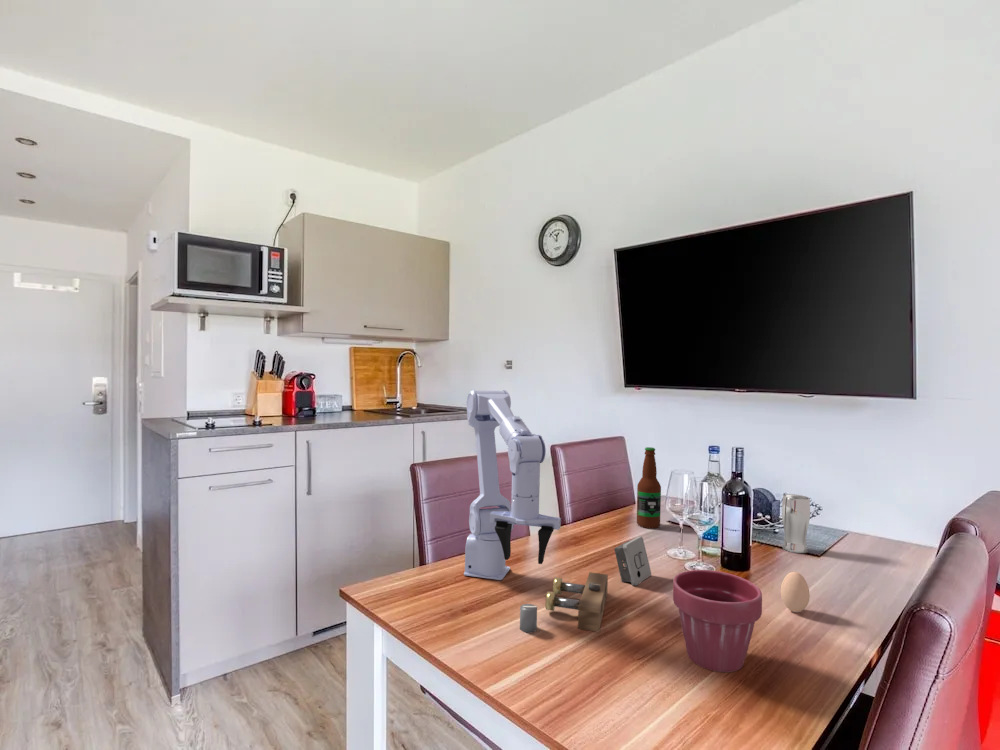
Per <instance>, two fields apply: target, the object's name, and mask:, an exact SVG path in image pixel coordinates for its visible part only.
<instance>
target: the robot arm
mask: <svg viewBox="0 0 1000 750" xmlns="http://www.w3.org/2000/svg"><path fill="white" fill-rule="evenodd" d="M511 402H512V401H511V395H510V393H509V392H508V391H507V390H506V389H503V390H475V389H471V390H470V391H469V393H468V394H467V396H466V404H465V405H466V416H467V421H468V426H470V427H472V428H473V429H474V436H475V445H476V460H477V471H478V483H479V485H478V486H479V495H478V496H477V498H475V499H474V500H473V501H472V502H471V504H470V505H469V517H468V525H469V531H470V532H471V533H469V535H468V536H467V537H466V541H465V542H466V543H465V548H464V549H465V550H464V571H463V575H464V576H469V577H475V578H476V577H477V578H483V579H488V580H497V581H502V580H503V579H504V578H505V576H506V575H507V574H508V572H509V571H510V569H511V567H510V566H508V565H506V561H508V560H509V559H510V558H511V553H512V552H511V551H512V550H511V546H512V545H511V536H512V532H513V529H514V526H515V525H517V526H528V527H538V528H539V530H537V535H538V536H537V538H538V554H537V555H538V556H537V557H538V558H537V564H539V565H543V562H544V559H545V554H546V549H547V547H548V544H549V540H550V539H551V537H552V534H553V533H554V530H557V531H558V530H560V529H561V527H562V526H561V524H562V523H561V521H562V520H561V519H562V518H561V517H555V516H550V515H545V514H540V484H541V483H540V482H541V481H540V480H541V479H540V477H541V464H542V463H544V460H545V459H546V449H547V448H546V444H545V440H544V438H543V437H542V435H541V434H535V433H534V434H533V433H532V432H531V431H530V429H529V427H528V426H527V425H526V423H525V422H524V420H523V419H522V418H521V417H520V416H519V415H518V416H517V415H515V414H514V413H513V411H512V409H511V405H512V403H511ZM497 427H499V428H498V432H499V435H501V438H502V439H503V440H504V442H505V444H506V445H507V446H506V447H507V455H508V460H509V471H510V472H511V501H510V500H509V499H508V498H506V497H505V496H504V495H502V494H501V491H500V490H501V489H500V479H499V469H498V458H497V457H498V455H497V446H496V435H495V434H496V433H495V430H496V428H497ZM491 507H492V508H491Z"/></svg>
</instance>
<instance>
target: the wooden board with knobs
mask: <svg viewBox="0 0 1000 750" xmlns="http://www.w3.org/2000/svg"><path fill="white" fill-rule="evenodd" d="M608 575H609V574H607V573H600V572H591V571H589V573H588V576H587V578H586V581H585V584H584V585H585V588H584V591H583V594H581V596H580V599H579V600H580V603H579V606H578V610H577V629H580V630H585V631H592V632H598V633H599V632H600V629H601V626H602V620H603V615H604V610H605V607H606V602H607V597H608V586H609V584H608V581H609V579H608V578H609V577H608Z"/></svg>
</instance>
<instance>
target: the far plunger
mask: <svg viewBox="0 0 1000 750" xmlns="http://www.w3.org/2000/svg"><path fill="white" fill-rule="evenodd" d="M552 582H553V583H552V592H555V593H556V595H560V596H561V595H562V592H564V593H565V592H567V593H574V594H581V595H582V594H583V591H584V588H585V584H580V583H574V582H573V583H571V582H565V581H563V577H556V576H555V577H554V578H553V581H552Z"/></svg>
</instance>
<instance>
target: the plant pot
mask: <svg viewBox="0 0 1000 750" xmlns="http://www.w3.org/2000/svg"><path fill="white" fill-rule="evenodd" d="M672 600H673V603H674V605H675V606H676V607H677V608H678V612H679V618H680V624H681V630H682V635H683V640H684V644H685V649H686V655H687V656H688V658H689V659H690V660H691V661H692V662H693V663H694V664H696V665H697V666H699V667H701V668H703V669H707V670H709V671H713V672H718V673H719V672H720V673H733V672H736V671H739V670H740V669H742V668H743V667H744V663H745V660H746V656H747V653H748V650H749V646H750V642H751V639H752V635H753V631H754V627H755V624H756V622H758V621H759V620H760V619H761V617H762V614H763V612H762V611H763V594H762V590H761V589H760V588H759V586H757V585H756V584H755V583H753V582H752V581H750V580H748V579H746V578H744V577H740V576H738V575H735V574H733V573H732V574H731V573H729V572H723V571H717V570H709V569H691V570H687V571H682V572H679V573H678V574H676V575H675V576H674V578H673V580H672Z"/></svg>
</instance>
